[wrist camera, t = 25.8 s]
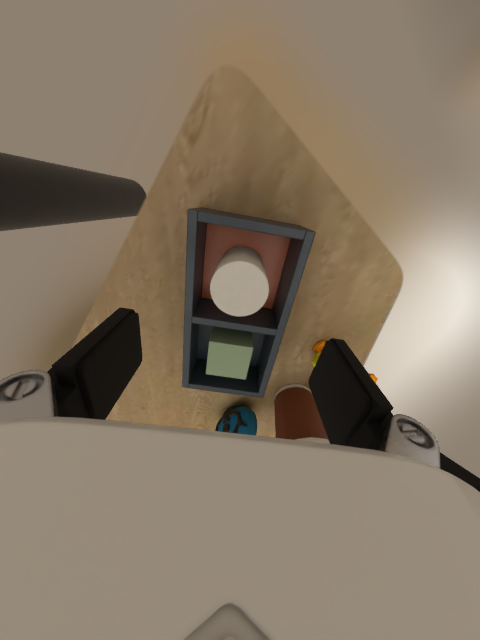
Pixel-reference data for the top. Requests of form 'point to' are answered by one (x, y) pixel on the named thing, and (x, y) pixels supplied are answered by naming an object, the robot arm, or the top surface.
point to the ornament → (238, 421)
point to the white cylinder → (240, 282)
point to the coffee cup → (298, 415)
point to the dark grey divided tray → (266, 324)
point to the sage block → (229, 352)
